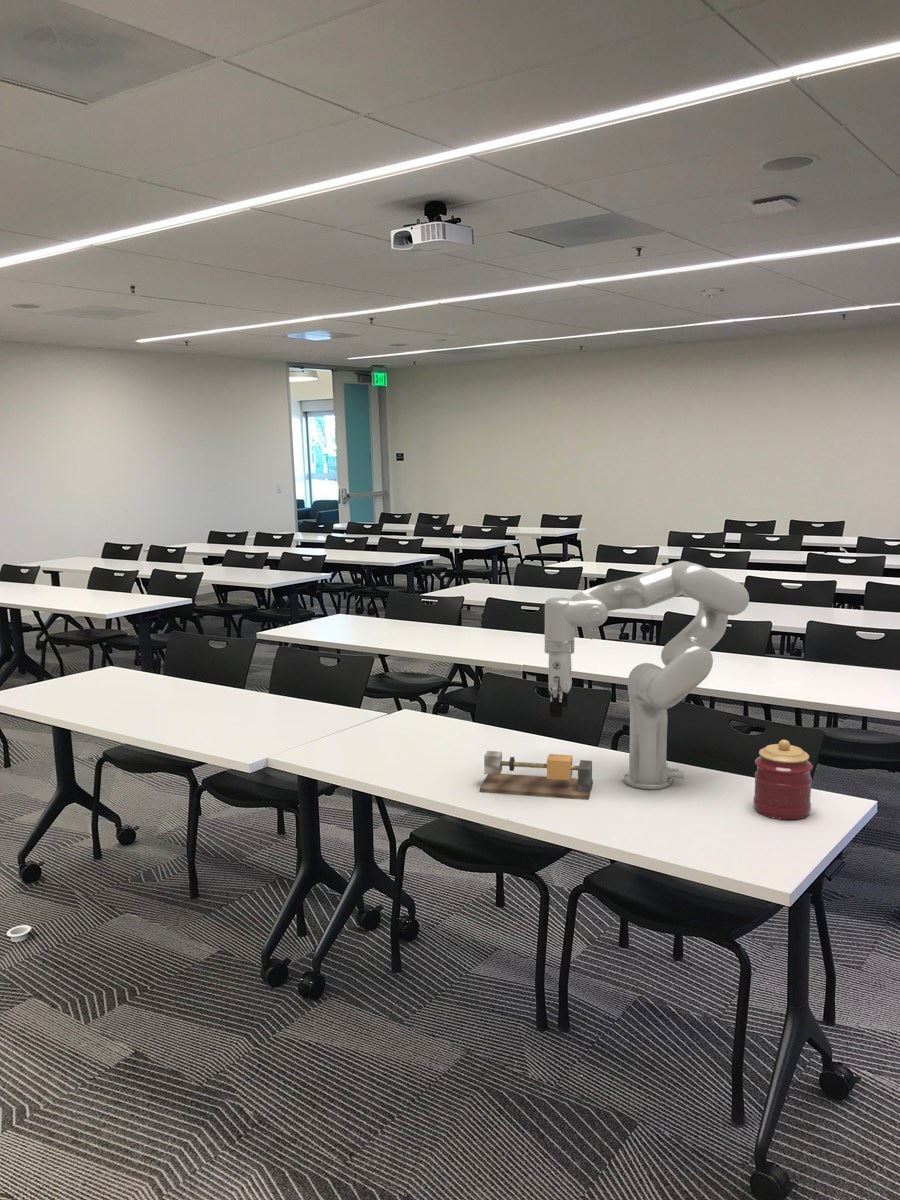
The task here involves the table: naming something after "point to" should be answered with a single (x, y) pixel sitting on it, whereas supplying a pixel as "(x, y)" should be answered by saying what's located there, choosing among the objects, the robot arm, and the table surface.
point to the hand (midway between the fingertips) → (558, 711)
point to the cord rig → (534, 779)
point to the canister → (783, 781)
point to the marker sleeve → (559, 767)
